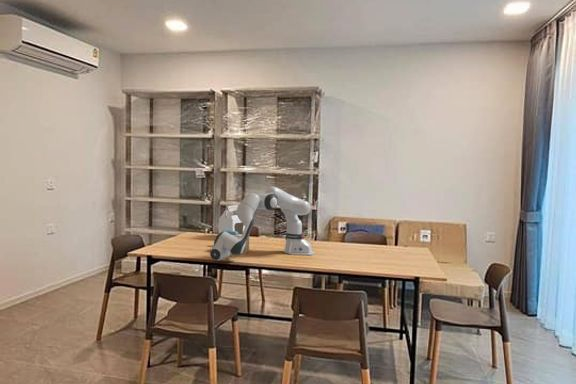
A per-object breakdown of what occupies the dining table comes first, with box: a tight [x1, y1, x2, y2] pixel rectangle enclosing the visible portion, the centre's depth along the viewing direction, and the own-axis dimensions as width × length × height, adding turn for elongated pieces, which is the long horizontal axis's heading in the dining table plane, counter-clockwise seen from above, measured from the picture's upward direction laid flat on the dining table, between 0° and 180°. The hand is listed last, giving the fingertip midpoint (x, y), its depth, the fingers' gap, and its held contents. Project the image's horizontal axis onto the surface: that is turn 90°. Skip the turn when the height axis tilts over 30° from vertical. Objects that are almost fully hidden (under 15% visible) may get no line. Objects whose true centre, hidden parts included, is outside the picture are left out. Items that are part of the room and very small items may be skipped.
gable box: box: [218, 204, 245, 236], centre depth 365 cm, size 22×13×28 cm, turn 158°
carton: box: [233, 235, 250, 255], centre depth 313 cm, size 18×10×11 cm, turn 79°
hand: (231, 248), depth 291 cm, fingers open, 8 cm apart
